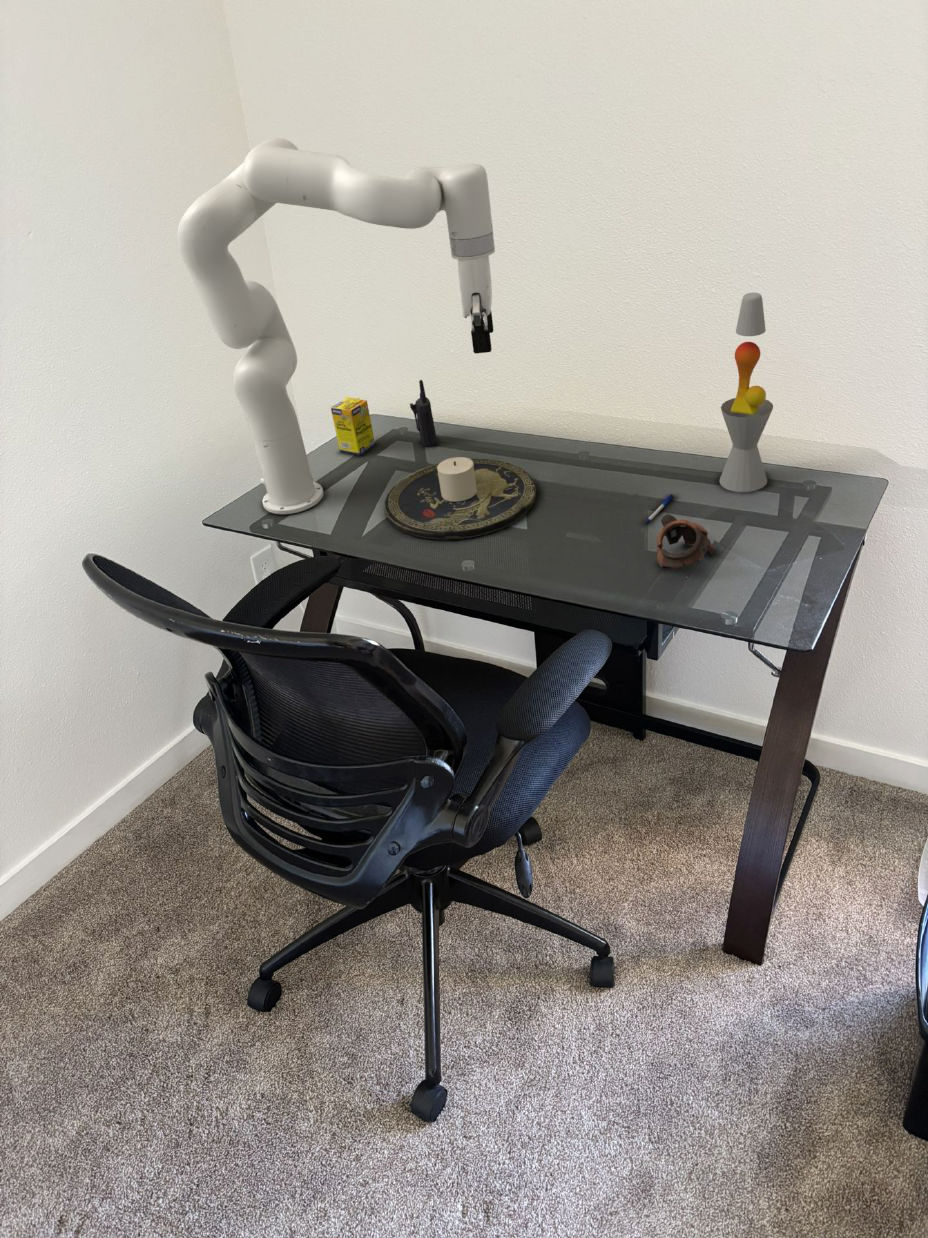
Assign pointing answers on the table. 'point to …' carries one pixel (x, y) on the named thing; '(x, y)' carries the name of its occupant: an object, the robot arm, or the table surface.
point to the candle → (457, 479)
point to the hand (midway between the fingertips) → (483, 342)
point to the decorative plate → (460, 502)
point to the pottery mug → (690, 535)
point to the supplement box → (353, 426)
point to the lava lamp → (746, 406)
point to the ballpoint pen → (660, 508)
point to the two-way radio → (424, 418)
